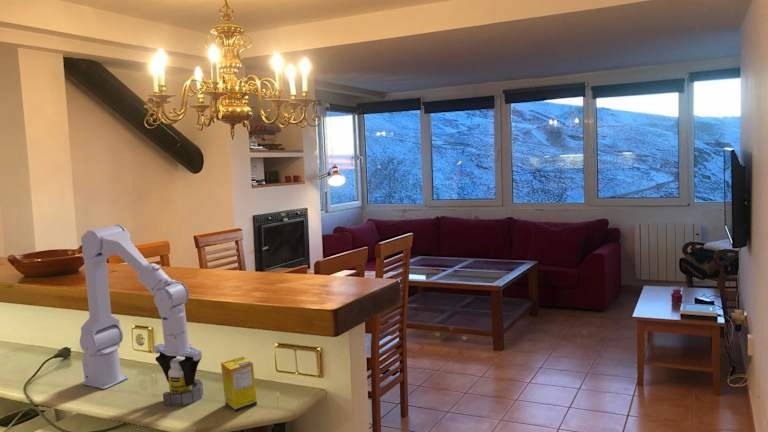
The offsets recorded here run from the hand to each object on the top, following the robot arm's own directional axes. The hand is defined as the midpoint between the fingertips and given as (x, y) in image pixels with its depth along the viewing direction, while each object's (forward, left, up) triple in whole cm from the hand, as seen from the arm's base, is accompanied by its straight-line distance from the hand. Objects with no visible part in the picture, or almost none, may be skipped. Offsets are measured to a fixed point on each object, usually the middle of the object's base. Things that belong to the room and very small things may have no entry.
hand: (181, 383), depth 159 cm
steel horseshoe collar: (+2, 0, -4) cm, 4 cm away
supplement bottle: (0, 0, -4) cm, 4 cm away
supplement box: (+17, +3, -4) cm, 18 cm away
